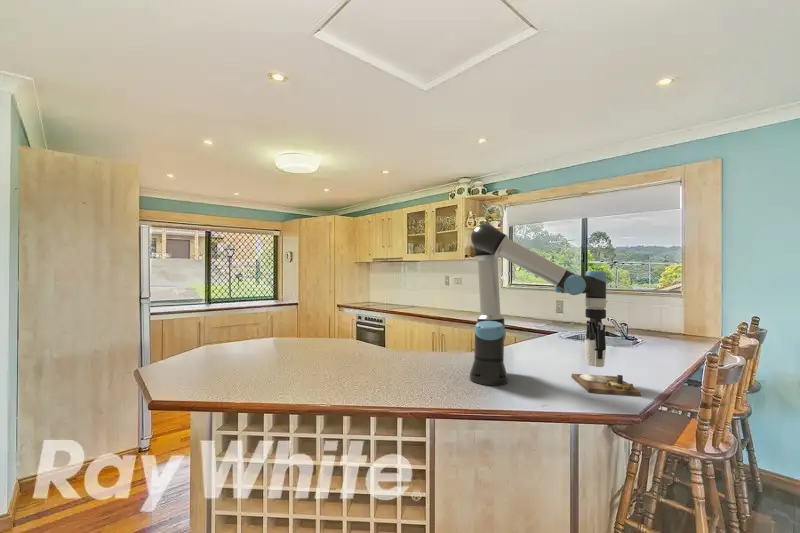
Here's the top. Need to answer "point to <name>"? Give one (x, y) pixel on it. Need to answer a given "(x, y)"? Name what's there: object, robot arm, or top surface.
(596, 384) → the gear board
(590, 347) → the white cup
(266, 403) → the top surface
